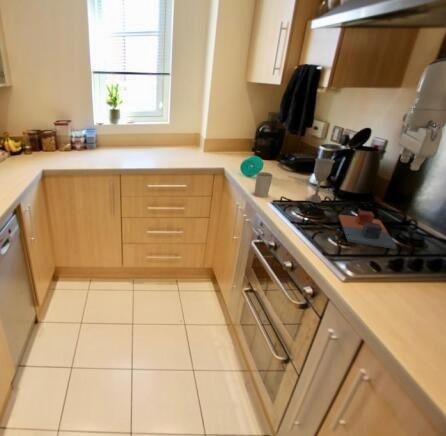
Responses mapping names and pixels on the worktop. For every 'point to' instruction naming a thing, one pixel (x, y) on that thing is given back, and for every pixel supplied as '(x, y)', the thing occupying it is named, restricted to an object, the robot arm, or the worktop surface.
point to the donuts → (247, 167)
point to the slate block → (371, 230)
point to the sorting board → (356, 234)
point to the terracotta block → (364, 217)
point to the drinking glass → (262, 184)
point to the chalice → (321, 175)
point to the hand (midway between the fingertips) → (408, 165)
